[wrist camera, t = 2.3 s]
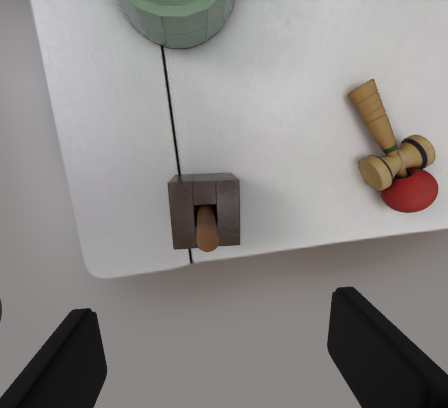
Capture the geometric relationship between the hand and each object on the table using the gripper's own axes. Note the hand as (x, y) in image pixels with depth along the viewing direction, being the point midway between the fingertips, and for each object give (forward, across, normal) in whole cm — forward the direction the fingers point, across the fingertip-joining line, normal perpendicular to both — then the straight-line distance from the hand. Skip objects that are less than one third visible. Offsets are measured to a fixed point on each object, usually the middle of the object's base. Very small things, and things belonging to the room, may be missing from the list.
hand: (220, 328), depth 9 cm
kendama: (+23, -24, -6) cm, 34 cm away
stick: (+23, 0, 0) cm, 23 cm away
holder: (+23, 0, 0) cm, 23 cm away
